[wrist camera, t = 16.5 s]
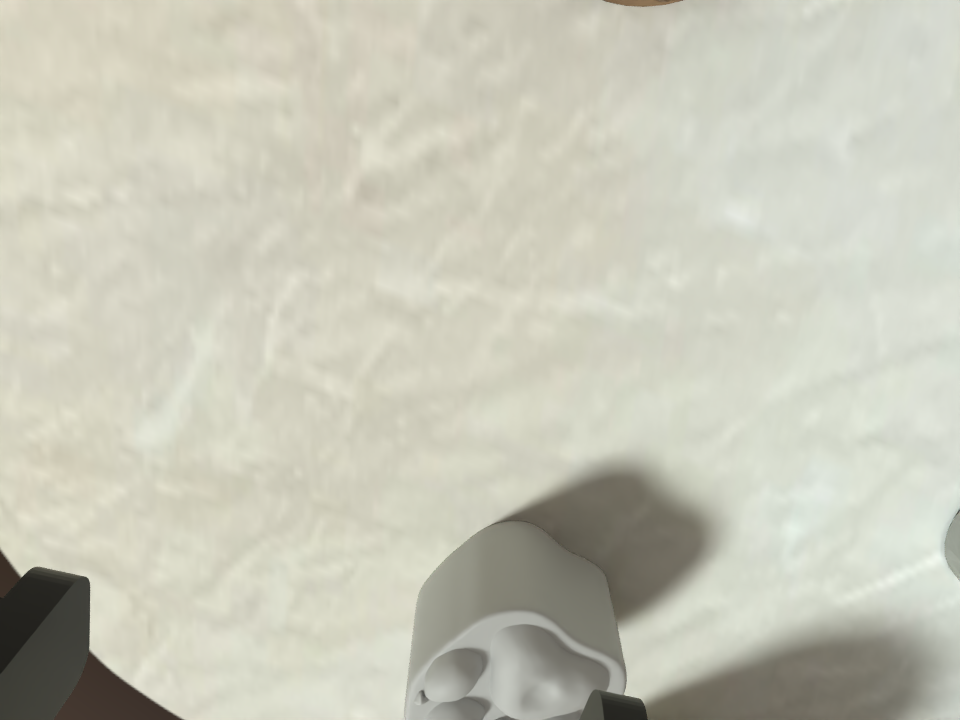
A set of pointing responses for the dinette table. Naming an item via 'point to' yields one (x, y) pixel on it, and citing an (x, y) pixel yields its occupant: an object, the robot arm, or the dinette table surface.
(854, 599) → the dinette table surface
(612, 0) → the ring dish
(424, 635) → the lumpy-topped squat cylinder
